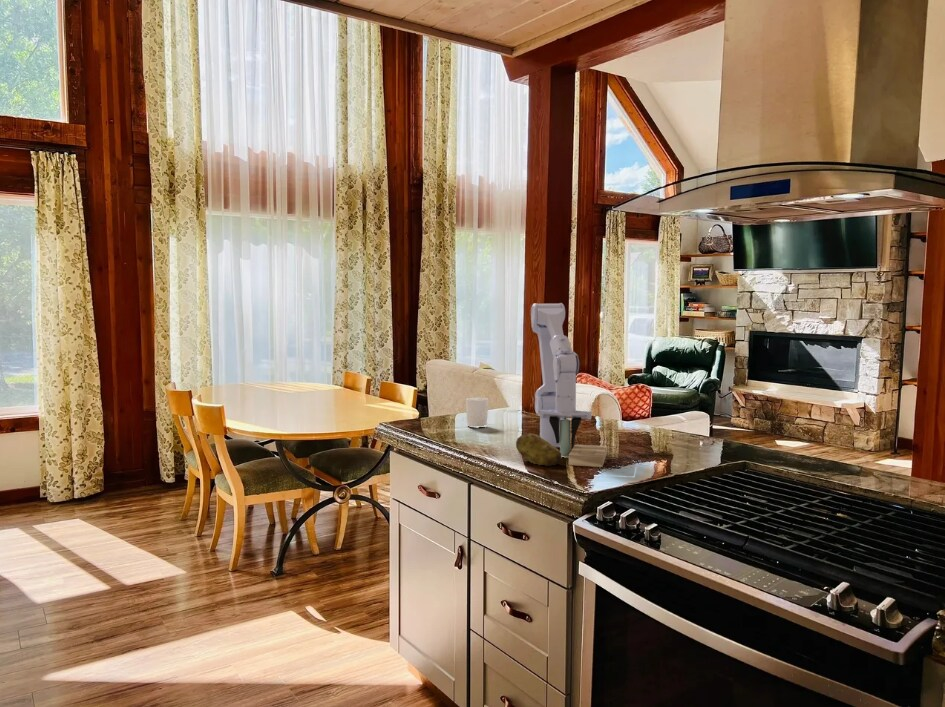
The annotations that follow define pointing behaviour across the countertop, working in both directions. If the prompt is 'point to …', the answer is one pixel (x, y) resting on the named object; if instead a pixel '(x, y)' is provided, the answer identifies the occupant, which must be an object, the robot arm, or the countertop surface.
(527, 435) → the potato
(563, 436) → the peg
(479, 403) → the white cup
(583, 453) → the socket block
